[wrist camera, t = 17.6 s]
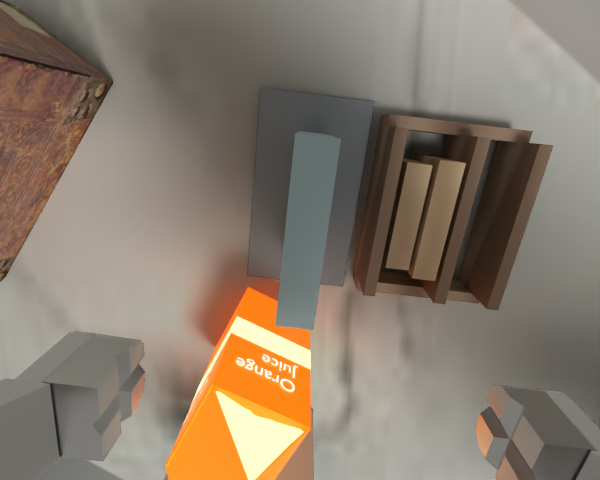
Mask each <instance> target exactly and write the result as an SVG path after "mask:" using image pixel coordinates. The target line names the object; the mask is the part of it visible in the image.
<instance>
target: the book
mask: <svg viewBox="0 0 600 480" xmlns="http://www.w3.org/2000/svg"><path fill="white" fill-rule="evenodd" d="M112 83H113V82H112V81H111V80H110V79H109V78H108V77H106V76H105V75H104V74H102V73H101V72H100V71H99V70H97V69H96V68H95V67H93V66H92V65H91V64H89V63H88V62H87V61H86V60H84V59H83V58H82V57H80V56H79V55H78V54H76V53H75V52H74V51H73V50H71V49H70V48H69V47H67V46H66V45H65V44H63V43H62V42H61V41H60V40H58V39H57V38H56V37H54V36H53V35H52V34H50V33H49V32H48V31H47V30H45V29H44V28H43V27H41V26H40V25H39V24H37V23H36V22H35V21H34V20H32V19H31V18H30V17H28V16H27V15H26V14H24V13H23V12H22V11H21V10H19V9H18V8H17V7H15V6H13V5H11V4H9V3H6V2H4V1H2V0H0V282H1V281H2V280H3V279H4V278H5V277H6V275H7V273H8V271H9V269H10V268H11V266H12V264H13V262H14V260H15V259H16V257H17V255H18V253H19V251H20V250H21V248H22V246H23V244H24V242H25V241H26V239H27V237H28V235H29V233H30V232H31V230H32V228H33V226H34V224H35V222H36V221H37V219H38V217H39V215H40V213H41V212H42V210H43V208H44V206H45V204H46V203H47V201H48V199H49V197H50V195H51V194H52V192H53V190H54V188H55V186H56V185H57V183H58V181H59V179H60V177H61V176H62V174H63V172H64V170H65V168H66V166H67V165H68V163H69V161H70V159H71V157H72V156H73V154H74V152H75V150H76V148H77V147H78V145H79V143H80V141H81V139H82V138H83V136H84V134H85V132H86V130H87V129H88V127H89V125H90V123H91V121H92V120H93V118H94V116H95V114H96V112H97V110H98V109H99V107H100V105H101V103H102V101H103V100H104V98H105V96H106V94H107V92H108V91H109V89H110V87H111V85H112Z"/></svg>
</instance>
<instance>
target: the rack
mask: <svg viewBox="0 0 600 480" xmlns="http://www.w3.org/2000/svg"><path fill="white" fill-rule="evenodd" d="M409 130H411V131H419V132H427V133H436V134H444V135H447V137H446V141H445V145H444V150H443V154H442V158H446V159H450V160H455V161H459V162H463V163H466V165H465V169H464V173H463V177H462V180H461V184H460V188H459V192H458V196H457V200H456V203H455V207H454V211H453V215H452V219H451V222H450V226H449V230H448V234H447V238H446V241H445V245H444V249H443V253H442V257H441V260H440V264H439V268H438V272H437V276H436V279H435V281H430V280H422V279H413V278H411V276H410V275H409V274H403V273H394V272H386V271H380V268H381V263H382V259H383V254H384V249H385V244H386V239H387V234H388V229H389V224H390V219H391V215H392V210H393V205H394V200H395V195H396V190H397V185H398V180H399V175H400V171H401V166H402V161H403V156H404V151H405V146H406V141H407V136H408V131H409ZM532 132H533V131H526V130H518V129H510V128H502V127H493V126H485V125H477V124H469V123H460V122H452V121H444V120H436V119H428V118H419V117H411V116H403V115H395V114H385V115H382V117H381V122H380V128H379V134H378V139H377V145H376V150H375V156H374V162H373V167H372V173H371V179H370V184H369V190H368V195H367V201H366V207H365V212H364V218H363V223H362V229H361V235H360V240H359V246H358V251H357V257H356V263H355V268H354V274H353V278H354V282H355V285H356V288H357V290H362V292H363V295H369V296H375V293H376V292H382V293H391V294H400V295H408V296H417V297H426V298H431V300H432V301H433V303H440V304H445V302H446V300H452V301H461V302H470V303H479V302H480V303H481V304H482V305H483V306H484V307H485V308H486V309H492V310H498V309H499V306H500V303H501V300H502V297H503V294H504V291H505V288H506V285H507V282H508V279H509V276H510V273H511V270H512V267H513V264H514V261H515V258H516V255H517V252H518V249H519V246H520V243H521V240H522V237H523V234H524V231H525V228H526V225H527V222H528V219H529V216H530V213H531V210H532V208H533V205H534V202H535V199H536V196H537V193H538V190H539V187H540V184H541V181H542V178H543V175H544V172H545V169H546V166H547V163H548V160H549V157H550V154H551V151H552V148H553V146H552V145H544V144H532V143H529V141H530V138H531V135H532ZM491 140H494V141H498V142H497V146H496V149H495V153H494V156H493V160H492V163H491V167H490V170H489V174H488V177H487V181H486V184H485V188H484V191H483V195H482V198H481V202H480V205H479V209H478V212H477V216H476V219H475V223H474V226H473V230H472V233H471V237H470V240H469V244H468V247H467V251H466V254H465V258H464V261H463V265H462V268H461V272H460V275H459V279H458V280H455V279H452V277H453V274H454V270H455V267H456V263H457V259H458V256H459V252H460V249H461V245H462V242H463V238H464V234H465V231H466V227H467V224H468V220H469V216H470V213H471V209H472V206H473V202H474V199H475V195H476V191H477V188H478V184H479V181H480V177H481V173H482V170H483V166H484V163H485V159H486V156H487V152H488V148H489V145H490V141H491Z"/></svg>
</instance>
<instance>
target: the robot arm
mask: <svg viewBox="0 0 600 480" xmlns="http://www.w3.org/2000/svg"><path fill="white" fill-rule="evenodd" d="M143 357H144V343H143V342H142V341H141V340H137V339H130V338H123V337H116V336H110V335H103V334H95V333H88V332H80V331H74V332H70V333H68V334H67V335H66V336H65V337H64V338H63V339H61V340H60V341H59V342H58V343H57V344H56V345H54V346H53V347H52V348H51V349H50V350H48V351H47V352H46V353H45V354H44V355H43V356H41V357H40V358H39V359H38V360H37V361H36V362H34V363H33V364H32V365H31V366H30V367H29V368H27V369H26V370H25V371H24V372H23V373H22V374H20V375H19V376H18V377H17V378H16V379H4V380H2V381H0V480H33V479H34V478H36V477H37V476H38V475H40V474H41V473H43V472H44V471H45V470H47V469H48V468H49V467H51V466H52V465H54V464H55V463H56V462H58V461H59V460H60V457H61V458H73V459H84V460H95V461H104V460H105V458H106V456H107V455H108V453H109V452H110V450H111V448H112V447H113V445H114V444H115V442H116V440H117V439H118V437H119V436H120V434H121V422H122V421H123V420H125V419H127V418H128V417H130V416H132V414H133V413H134V411H135V409H136V408H137V406H138V404H139V401H140V399H141V396H142V393H143V389H144V383H145V371H144V370H143V369H142V367H141V366H140V365H139V363H140V361H141V360H142V358H143ZM486 400H487V402H488V405H489V407H488V408H487V409H485V410H484V411H483V412H481V413H480V415H479V418H478V421H477V424H476V431H477V440H478V444H479V447H480V450H481V452H482V454H483V456H484V458H485V459H486V460H487V461H488V462H489V463H491V464H492V465H493V466H494V467H495V468H496V469H497V472H496V477H495V479H496V480H600V428H599V427H598V426H597V425H596V424H595V423H594V422H593V421H592V420H591V419H590V418H589V417H588V416H587V415H586V414H585V413H584V412H583V411H582V410H581V409H580V408H579V407H578V405H577V404H576V403H575V402H574V401H573V400H572V399H571V398H570V397H569V396H567V395H566V394H564V393H562V392H559V391H549V390H539V389H538V390H533V389H525V388H516V387H508V386H500V385H494V386H493V387H492V388H490V389H489V392H488V394H487V396H486Z"/></svg>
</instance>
